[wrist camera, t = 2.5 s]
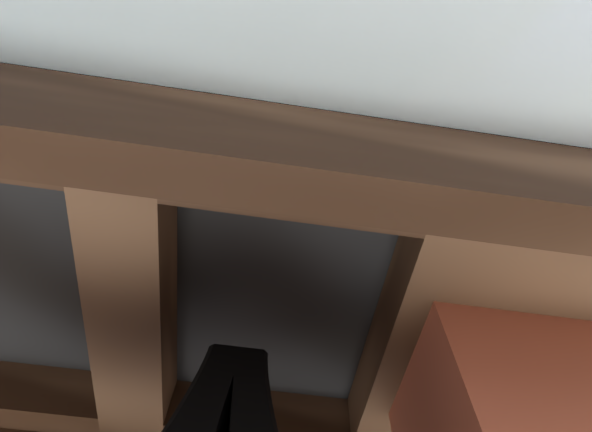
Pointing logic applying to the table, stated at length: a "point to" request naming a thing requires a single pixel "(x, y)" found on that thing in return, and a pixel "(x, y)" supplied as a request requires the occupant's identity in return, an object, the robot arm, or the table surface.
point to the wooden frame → (255, 247)
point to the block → (496, 373)
